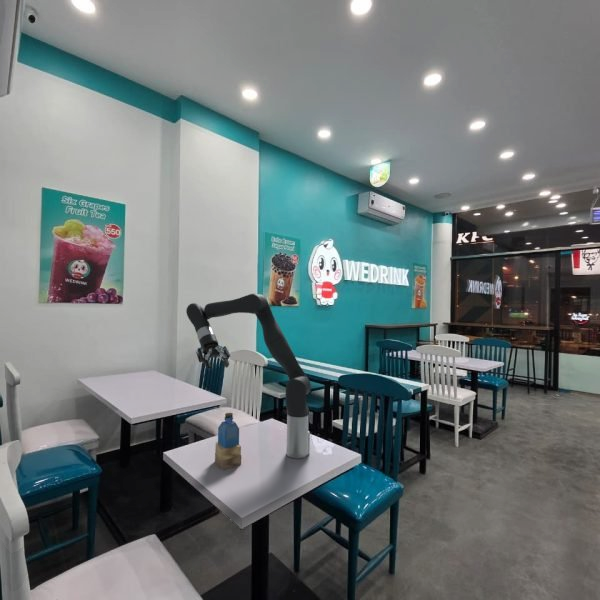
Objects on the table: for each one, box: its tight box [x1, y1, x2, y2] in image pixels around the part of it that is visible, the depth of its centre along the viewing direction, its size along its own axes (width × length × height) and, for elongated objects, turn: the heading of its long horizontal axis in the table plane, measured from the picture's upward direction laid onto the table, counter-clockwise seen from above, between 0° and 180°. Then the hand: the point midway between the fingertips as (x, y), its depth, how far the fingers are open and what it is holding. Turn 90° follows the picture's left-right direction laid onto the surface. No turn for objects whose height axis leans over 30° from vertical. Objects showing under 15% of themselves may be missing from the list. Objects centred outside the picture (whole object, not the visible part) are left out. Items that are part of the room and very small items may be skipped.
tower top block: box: [215, 441, 242, 460], centre depth 136 cm, size 8×8×4 cm
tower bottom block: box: [214, 452, 242, 471], centre depth 136 cm, size 8×8×4 cm
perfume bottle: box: [217, 412, 240, 448], centre depth 136 cm, size 6×6×12 cm
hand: (218, 367), depth 146 cm, fingers open, 8 cm apart
